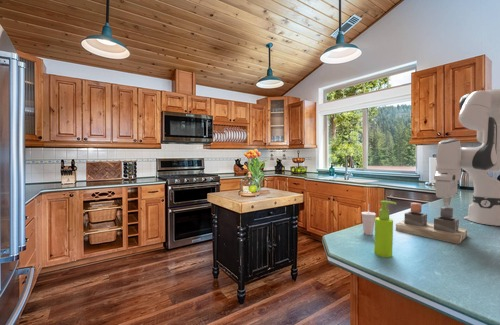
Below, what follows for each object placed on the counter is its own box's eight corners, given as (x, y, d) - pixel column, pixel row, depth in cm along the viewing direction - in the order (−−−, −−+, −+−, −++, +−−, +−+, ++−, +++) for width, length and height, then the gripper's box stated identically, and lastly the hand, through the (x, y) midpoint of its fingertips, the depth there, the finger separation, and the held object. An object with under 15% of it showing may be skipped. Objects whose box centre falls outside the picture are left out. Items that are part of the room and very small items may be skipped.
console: (407, 224, 131) (408, 209, 131) (466, 235, 113) (467, 218, 112) (395, 230, 121) (396, 213, 121) (458, 244, 102) (459, 225, 102)
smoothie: (375, 232, 117) (376, 203, 117) (376, 236, 111) (376, 205, 111) (360, 230, 120) (361, 202, 119) (360, 234, 114) (361, 204, 113)
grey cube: (441, 214, 115) (442, 206, 115) (453, 216, 112) (454, 208, 111) (439, 216, 112) (439, 207, 112) (451, 218, 109) (451, 209, 109)
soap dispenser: (395, 259, 88) (396, 203, 87) (373, 255, 91) (374, 201, 90) (395, 253, 93) (397, 200, 92) (375, 249, 96) (376, 198, 95)
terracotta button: (412, 210, 124) (412, 202, 124) (422, 211, 121) (422, 203, 121) (409, 211, 121) (409, 203, 121) (419, 213, 118) (419, 204, 118)
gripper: (445, 173, 120) (444, 202, 121) (432, 176, 107) (431, 207, 108) (462, 174, 115) (461, 204, 116) (451, 177, 102) (449, 210, 103)
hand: (446, 205), depth 112 cm, fingers closed
